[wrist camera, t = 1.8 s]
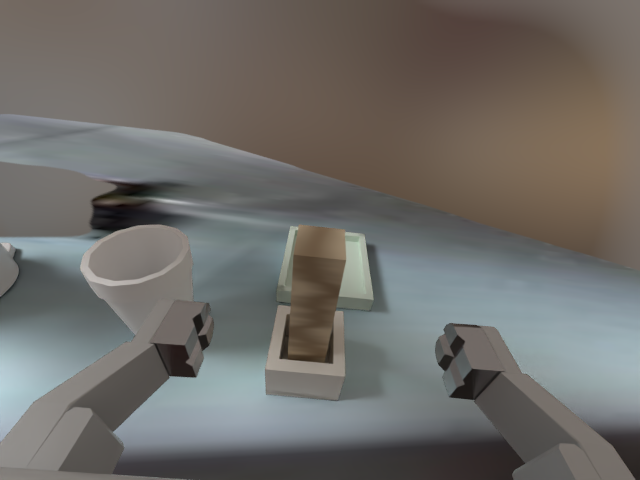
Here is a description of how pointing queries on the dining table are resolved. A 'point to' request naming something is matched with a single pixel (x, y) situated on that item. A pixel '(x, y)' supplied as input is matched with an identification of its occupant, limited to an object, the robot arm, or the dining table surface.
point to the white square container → (305, 363)
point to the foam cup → (139, 270)
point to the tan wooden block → (315, 290)
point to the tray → (355, 274)
